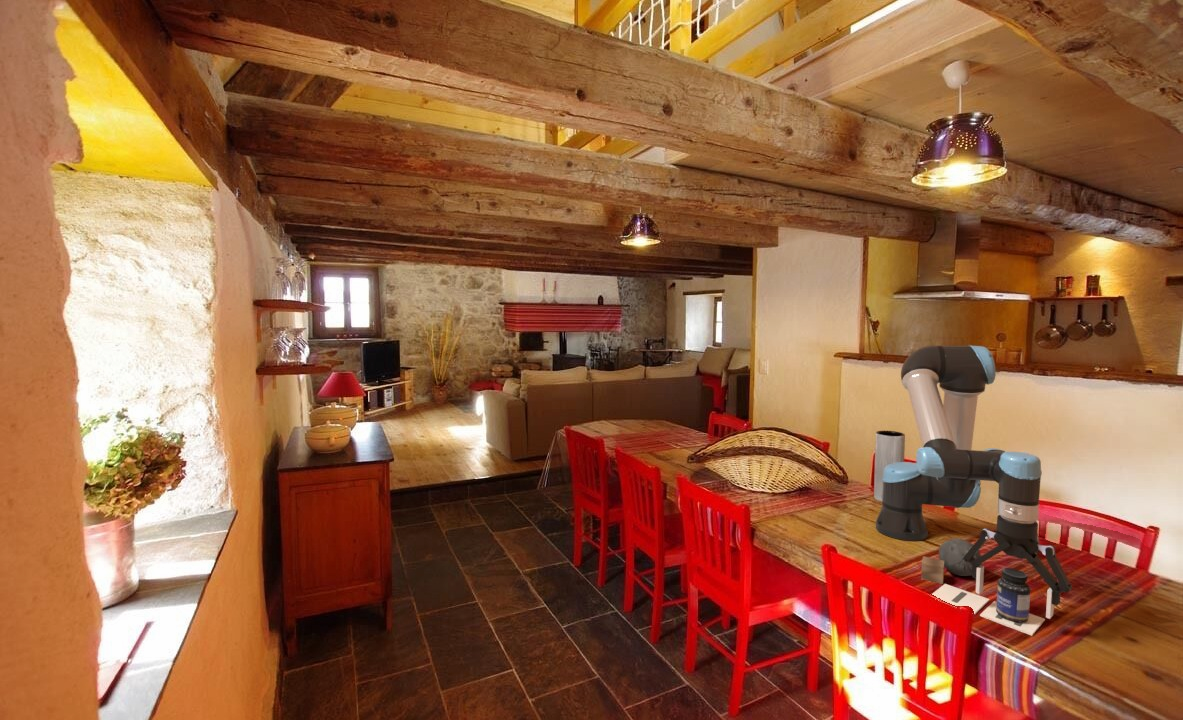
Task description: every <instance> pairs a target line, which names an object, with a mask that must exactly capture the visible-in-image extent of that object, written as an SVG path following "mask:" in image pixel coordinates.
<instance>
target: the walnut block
mask: <svg viewBox="0 0 1183 720" xmlns="http://www.w3.org/2000/svg"><path fill="white" fill-rule="evenodd" d="M920 572H921V573H920V574H921V577H920V580H921V581H923V580H926V581H925V582H927V581H931V582H935V583H939V584H938V585H940V584H943V585H944V576H945V567H944V561H943V560H940V559H938V558H932V557H928V556H925V555H924V556H923V555H922V560H921V571H920ZM931 582H930V583H931ZM935 583H934V584H935Z"/></svg>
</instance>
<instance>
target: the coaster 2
mask: <svg viewBox="0 0 1183 720" xmlns="http://www.w3.org/2000/svg"><path fill="white" fill-rule="evenodd" d="M996 604H997V600H994V601H993V602H991V604H989V606H987V607H986V608H985V609H984V610H983V611H982V612H981V613H980V614H979V617H982V618H984V619H987V620H989V621H992V622H994V623H997V624H1000V625H1002V626H1004V627H1008V628H1009V629H1010V628H1011V629H1013V630H1016V631H1018V632H1021V633H1023V634H1027V635H1029V636H1031V637H1033V636H1034V635H1035V634H1036V632H1037V631H1038V630H1039V628H1040V627H1041V626H1042V624H1044V622H1045V621H1046V619H1045V618H1044V617H1040V616H1038V615H1035V614H1033V613H1030V612H1029V618H1028V621H1027V622H1021V623H1019V622H1013V621H1010V620H1007V619H1005V618H1003V617H1001V616H1000V615H999V614H998V613H997V612H996Z"/></svg>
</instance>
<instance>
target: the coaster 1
mask: <svg viewBox="0 0 1183 720" xmlns="http://www.w3.org/2000/svg"><path fill="white" fill-rule="evenodd" d="M931 594H932V595H934V596H936V597H937V598H940V599H941V600H943V601H945V602H947V603H950V604H952V605H955V606H969V607H971V608H972V609H973V611H974V615H976V614H977V613H978V612H980V611H981V609H982V608H983V607H985V606H986V605H987V604H988V603H989V602H990V598H987V597H984V596H982V595H980V594H977V593H974V592H970V591H968V590H964V589H961V588H959V587H955V586H953V585H950V584H947V583H943V585H940V586H939V588H937V589H936V590H935V591H934V592H933V593H931ZM947 603H946V604H947ZM952 605H951V606H952ZM955 606H954V607H955Z"/></svg>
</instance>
